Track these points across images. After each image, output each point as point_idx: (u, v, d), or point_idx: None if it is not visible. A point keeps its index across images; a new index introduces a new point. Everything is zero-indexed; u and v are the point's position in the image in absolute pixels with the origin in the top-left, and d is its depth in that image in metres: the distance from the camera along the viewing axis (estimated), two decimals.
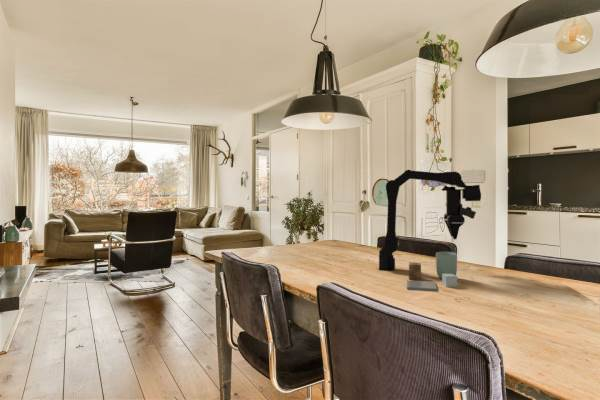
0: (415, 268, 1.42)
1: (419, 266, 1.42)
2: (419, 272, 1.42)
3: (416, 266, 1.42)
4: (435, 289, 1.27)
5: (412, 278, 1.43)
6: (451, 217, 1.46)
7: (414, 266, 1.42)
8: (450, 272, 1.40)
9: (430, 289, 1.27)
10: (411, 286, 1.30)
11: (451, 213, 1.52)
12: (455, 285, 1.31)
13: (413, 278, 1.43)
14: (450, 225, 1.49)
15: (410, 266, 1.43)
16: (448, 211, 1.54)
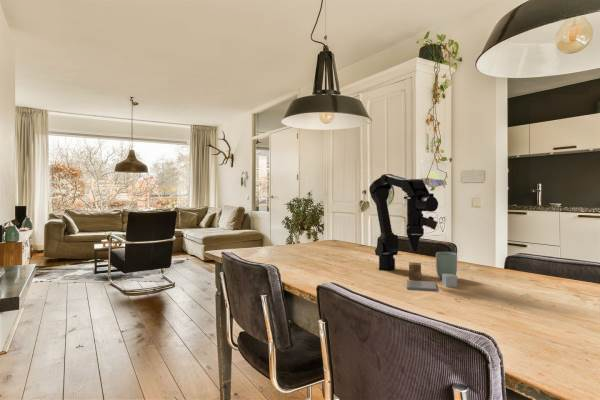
0: (415, 268, 1.42)
1: (419, 266, 1.42)
2: (419, 272, 1.42)
3: (416, 266, 1.42)
4: (435, 289, 1.27)
5: (412, 278, 1.43)
6: (410, 228, 1.36)
7: (414, 266, 1.42)
8: (450, 272, 1.40)
9: (430, 289, 1.27)
10: (411, 286, 1.30)
11: (411, 223, 1.42)
12: (455, 285, 1.31)
13: (413, 278, 1.43)
14: (409, 237, 1.39)
15: (410, 266, 1.43)
16: (408, 221, 1.43)
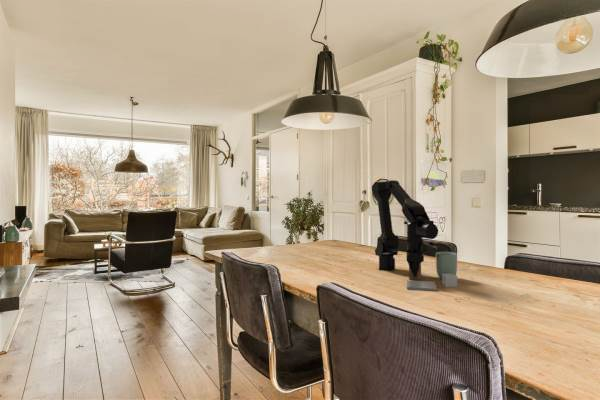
0: None
1: (419, 266, 1.42)
2: (419, 272, 1.42)
3: None
4: (435, 289, 1.27)
5: (412, 278, 1.43)
6: (410, 255, 1.36)
7: None
8: (450, 272, 1.40)
9: (430, 289, 1.27)
10: (411, 286, 1.30)
11: (411, 249, 1.42)
12: (455, 285, 1.31)
13: (413, 278, 1.43)
14: (409, 262, 1.41)
15: None
16: (408, 247, 1.43)
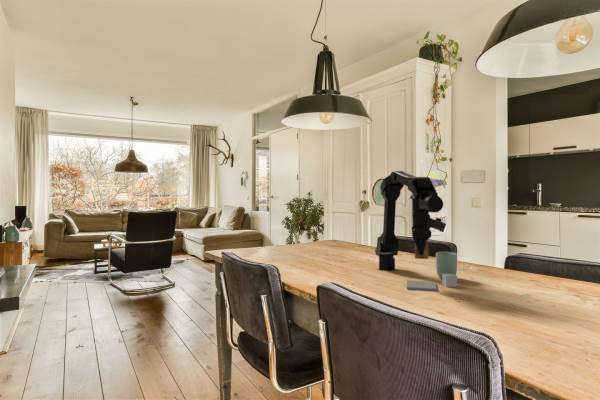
0: None
1: (426, 243, 1.30)
2: (426, 250, 1.30)
3: None
4: (435, 289, 1.27)
5: (418, 257, 1.31)
6: (416, 230, 1.24)
7: None
8: (450, 272, 1.40)
9: (430, 289, 1.27)
10: (411, 286, 1.30)
11: (417, 225, 1.30)
12: (455, 285, 1.31)
13: (419, 257, 1.30)
14: (415, 239, 1.29)
15: None
16: (414, 223, 1.31)
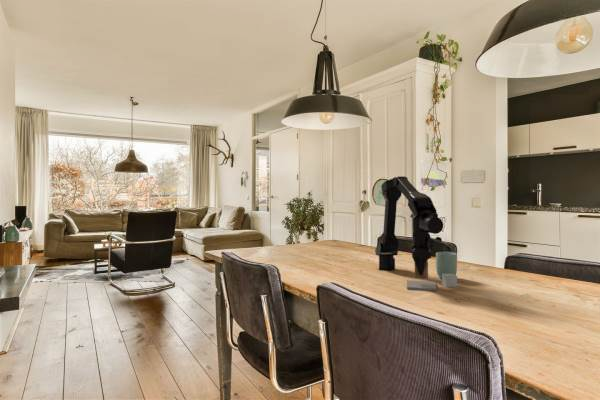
0: None
1: (426, 263, 1.30)
2: (426, 270, 1.30)
3: None
4: (435, 289, 1.27)
5: (418, 276, 1.31)
6: (416, 251, 1.24)
7: None
8: (450, 272, 1.40)
9: (430, 289, 1.27)
10: (411, 286, 1.30)
11: (417, 245, 1.30)
12: (455, 285, 1.31)
13: (419, 276, 1.31)
14: (415, 259, 1.29)
15: None
16: (414, 242, 1.31)
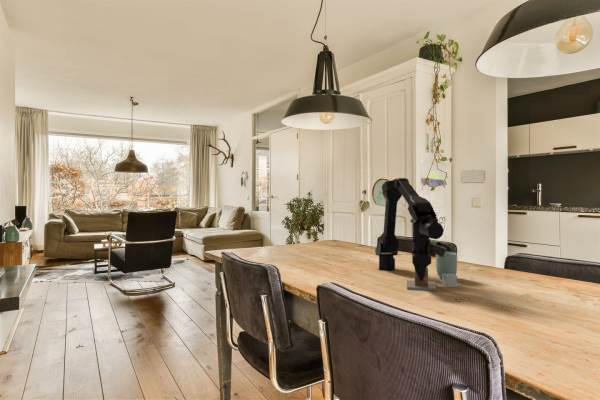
0: None
1: (426, 271, 1.30)
2: (426, 277, 1.30)
3: None
4: (435, 289, 1.27)
5: (418, 284, 1.31)
6: (416, 257, 1.24)
7: None
8: (450, 272, 1.40)
9: (430, 289, 1.27)
10: (411, 286, 1.30)
11: (417, 250, 1.30)
12: (455, 285, 1.31)
13: (419, 284, 1.31)
14: (415, 265, 1.28)
15: None
16: (414, 247, 1.31)
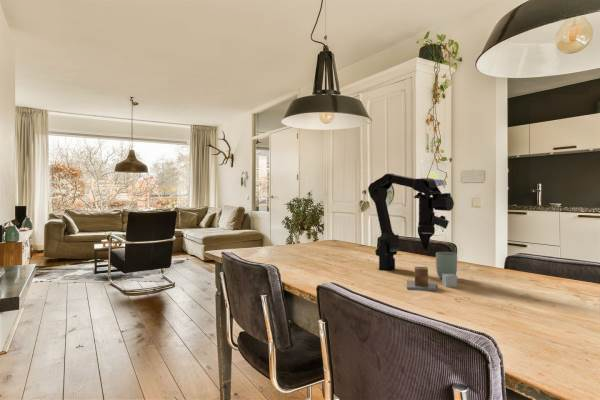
0: (421, 273, 1.30)
1: (426, 271, 1.30)
2: (426, 277, 1.30)
3: (423, 271, 1.30)
4: (435, 289, 1.27)
5: (418, 284, 1.31)
6: (421, 227, 1.39)
7: (420, 271, 1.30)
8: (450, 272, 1.40)
9: (430, 289, 1.27)
10: (411, 286, 1.30)
11: (423, 222, 1.45)
12: (455, 285, 1.31)
13: (419, 284, 1.31)
14: (420, 235, 1.41)
15: (416, 271, 1.31)
16: (420, 220, 1.46)
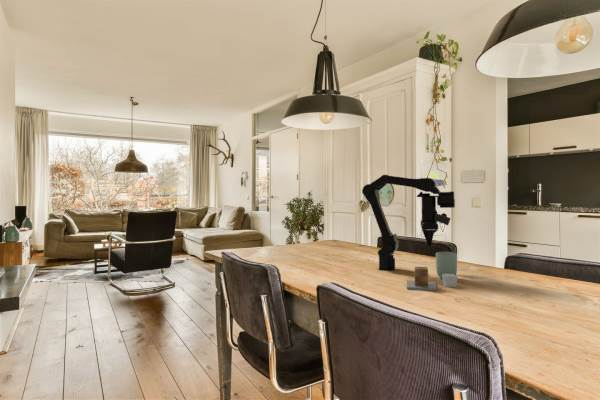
0: (421, 273, 1.30)
1: (426, 271, 1.30)
2: (426, 277, 1.30)
3: (423, 271, 1.30)
4: (435, 289, 1.27)
5: (418, 284, 1.31)
6: (425, 224, 1.47)
7: (420, 271, 1.30)
8: (450, 272, 1.40)
9: (430, 289, 1.27)
10: (411, 286, 1.30)
11: (426, 220, 1.53)
12: (455, 285, 1.31)
13: (419, 284, 1.31)
14: (424, 232, 1.49)
15: (416, 271, 1.31)
16: (423, 217, 1.54)
